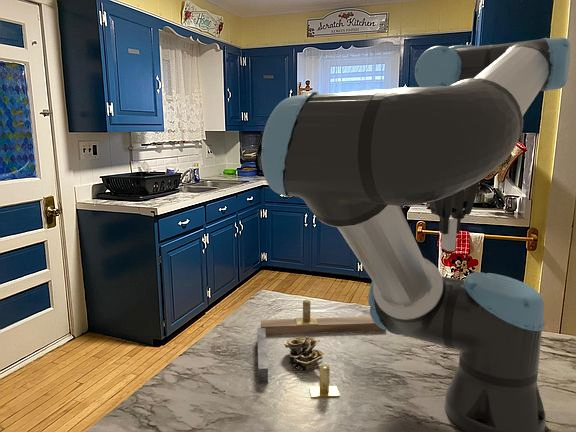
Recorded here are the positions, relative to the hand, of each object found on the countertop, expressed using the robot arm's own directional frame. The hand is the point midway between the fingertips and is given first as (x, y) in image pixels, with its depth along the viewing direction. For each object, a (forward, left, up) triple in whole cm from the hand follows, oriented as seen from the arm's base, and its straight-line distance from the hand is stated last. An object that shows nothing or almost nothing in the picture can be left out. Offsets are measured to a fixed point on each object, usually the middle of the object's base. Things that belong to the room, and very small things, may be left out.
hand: (448, 249), depth 90 cm
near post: (-11, +27, -24) cm, 37 cm away
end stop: (+2, +38, -24) cm, 45 cm away
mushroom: (+1, +29, -24) cm, 38 cm away
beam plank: (+16, +23, -24) cm, 36 cm away
